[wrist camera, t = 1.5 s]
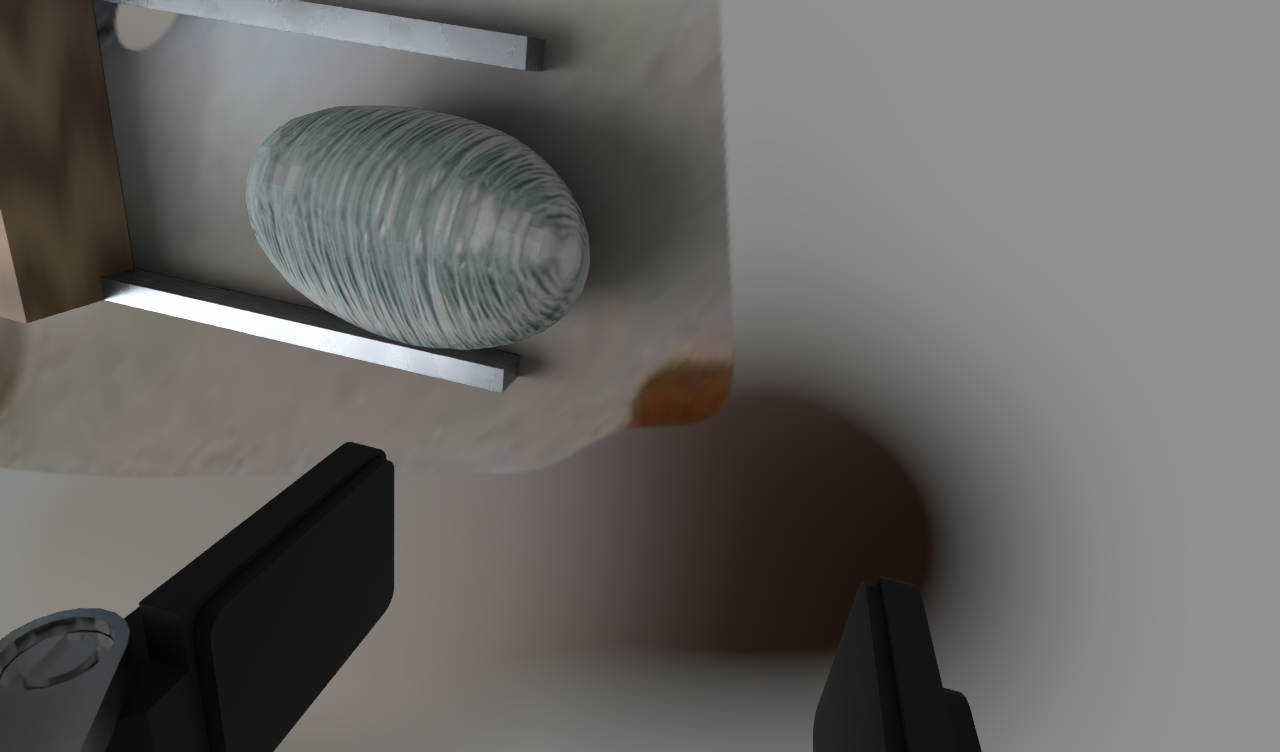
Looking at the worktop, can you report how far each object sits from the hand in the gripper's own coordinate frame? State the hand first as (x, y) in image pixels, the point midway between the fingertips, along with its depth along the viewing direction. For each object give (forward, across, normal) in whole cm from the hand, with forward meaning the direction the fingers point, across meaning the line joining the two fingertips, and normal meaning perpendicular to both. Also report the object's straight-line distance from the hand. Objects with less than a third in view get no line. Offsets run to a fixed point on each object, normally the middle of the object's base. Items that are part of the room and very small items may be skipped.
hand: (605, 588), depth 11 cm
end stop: (+22, +34, 0) cm, 40 cm away
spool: (+22, +12, 0) cm, 25 cm away
